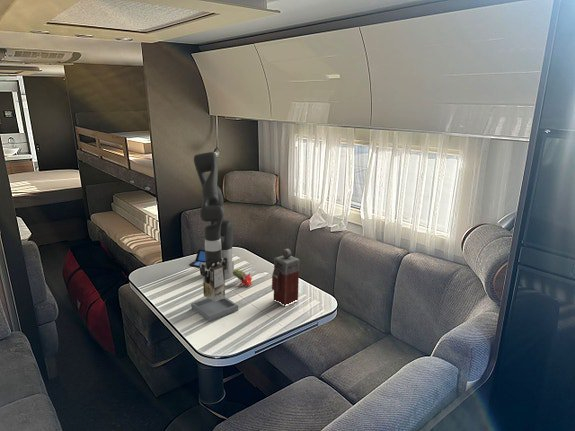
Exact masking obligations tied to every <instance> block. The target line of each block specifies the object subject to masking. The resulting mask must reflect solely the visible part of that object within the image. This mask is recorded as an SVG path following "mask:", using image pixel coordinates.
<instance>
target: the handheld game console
mask: <svg viewBox="0 0 575 431" xmlns="http://www.w3.org/2000/svg"><path fill="white" fill-rule="evenodd" d="M205 261H206V259H205V249H198V250H197V252H196V257H195V259H194V261H192V262H190V263H189V266H190V267H195V268H198V269H200V267H199V264H200V263H205Z"/></svg>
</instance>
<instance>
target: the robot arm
mask: <svg viewBox="0 0 575 431" xmlns="http://www.w3.org/2000/svg"><path fill="white" fill-rule="evenodd" d="M193 163H194V167H195V170H196V173H197V176H198V179H199V181H200V185H201V187H202V205H201V208H200V212H199V217H200V220H202V221H203V222H207V223H208V222H210V225H207V226H206V227H205V228H204V250H205V259H206V261H205V263H200V264H199V267H200V268H199V274H200V276H202V277H203V276H204V278H205V282H206V283H207V284H209V272H210V269H209V270H208V269H207V268H205V265H206V267H209V268H213V267H214V266H217V265H218V266H219V265H222V266H225V280H227V279H230V278H232V277H233V276H234V274H233V272H234V270H235V261H234V259H233V243H234V223H233V221H232V220H229V219H228V220H227V219H224V216H225V209H224V207H223V205H224V197H223V193H222V189H221V188H220V187H219V185H218V177H219V176H218V174H219V164H218V158H217V155H216V153H215V152H214V151H213V152H212V151H210V152H204V153H198V154H195V155H194V156H193ZM207 172H210V173H209V175H208V176H207V174H206V173H207ZM221 237H222V238H223V239H222V240H221Z"/></svg>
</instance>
